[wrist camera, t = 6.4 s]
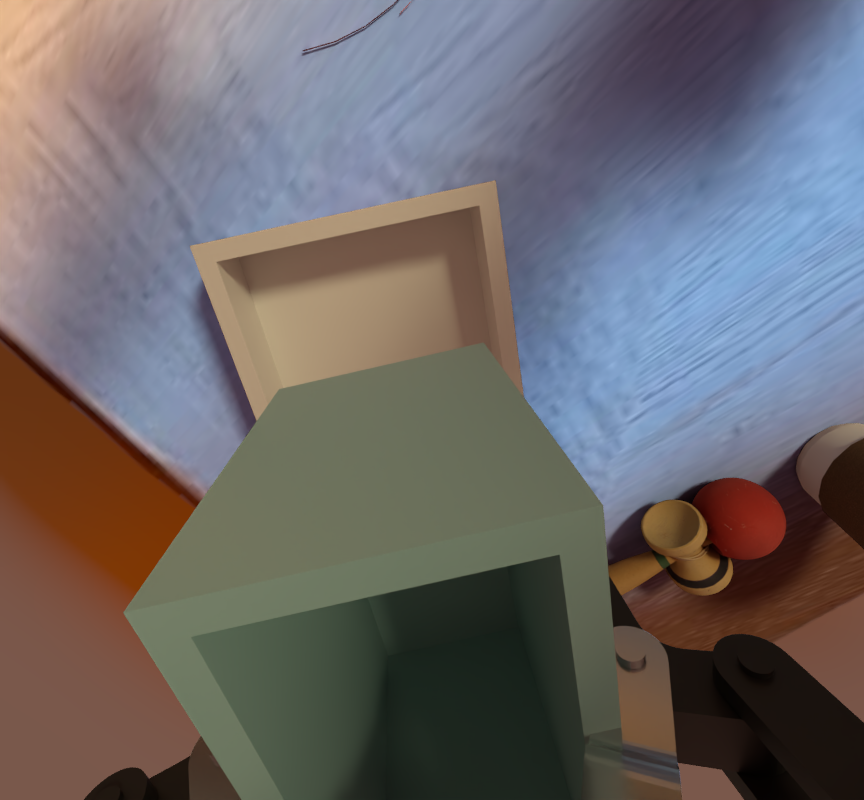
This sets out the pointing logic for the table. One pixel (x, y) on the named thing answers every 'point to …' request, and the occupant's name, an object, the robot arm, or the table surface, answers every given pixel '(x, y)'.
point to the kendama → (704, 537)
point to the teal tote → (392, 595)
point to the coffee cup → (836, 475)
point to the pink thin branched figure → (356, 30)
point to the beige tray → (363, 290)
